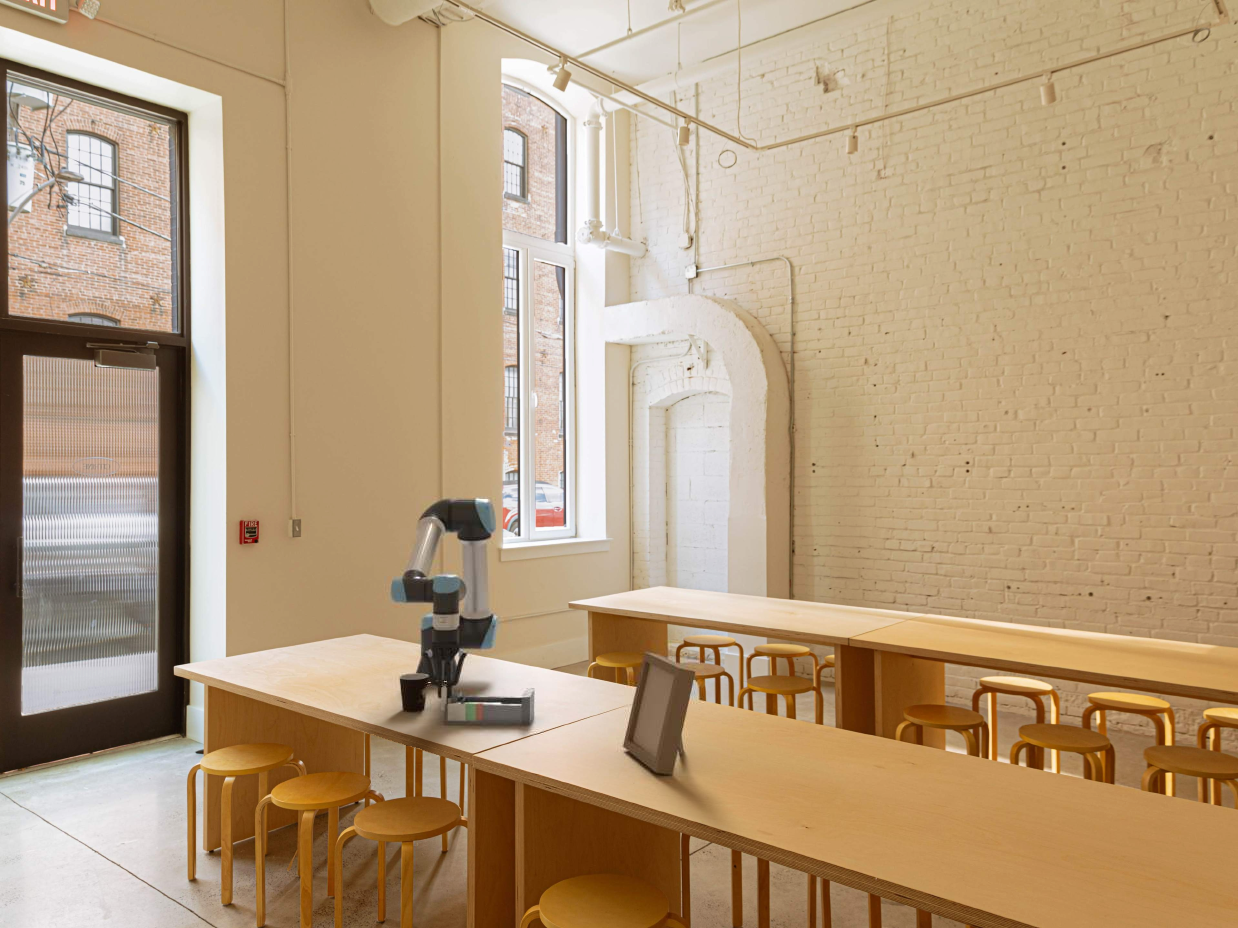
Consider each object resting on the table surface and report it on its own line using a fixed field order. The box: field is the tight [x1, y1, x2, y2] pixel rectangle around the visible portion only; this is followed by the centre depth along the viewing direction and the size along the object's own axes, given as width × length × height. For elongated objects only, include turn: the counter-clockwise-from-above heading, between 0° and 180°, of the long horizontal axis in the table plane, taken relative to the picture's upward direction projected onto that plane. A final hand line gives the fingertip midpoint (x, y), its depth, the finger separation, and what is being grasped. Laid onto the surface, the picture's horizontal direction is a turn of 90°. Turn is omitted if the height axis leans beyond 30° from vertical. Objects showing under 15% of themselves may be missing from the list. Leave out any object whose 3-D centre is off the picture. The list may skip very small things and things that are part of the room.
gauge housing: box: [443, 687, 535, 727], centre depth 250 cm, size 11×24×8 cm, turn 89°
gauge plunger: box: [449, 690, 502, 704], centre depth 249 cm, size 10×14×6 cm
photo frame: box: [622, 651, 697, 776], centre depth 215 cm, size 15×22×25 cm
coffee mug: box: [399, 672, 429, 713], centre depth 263 cm, size 12×9×10 cm
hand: (444, 709), depth 251 cm, fingers closed
